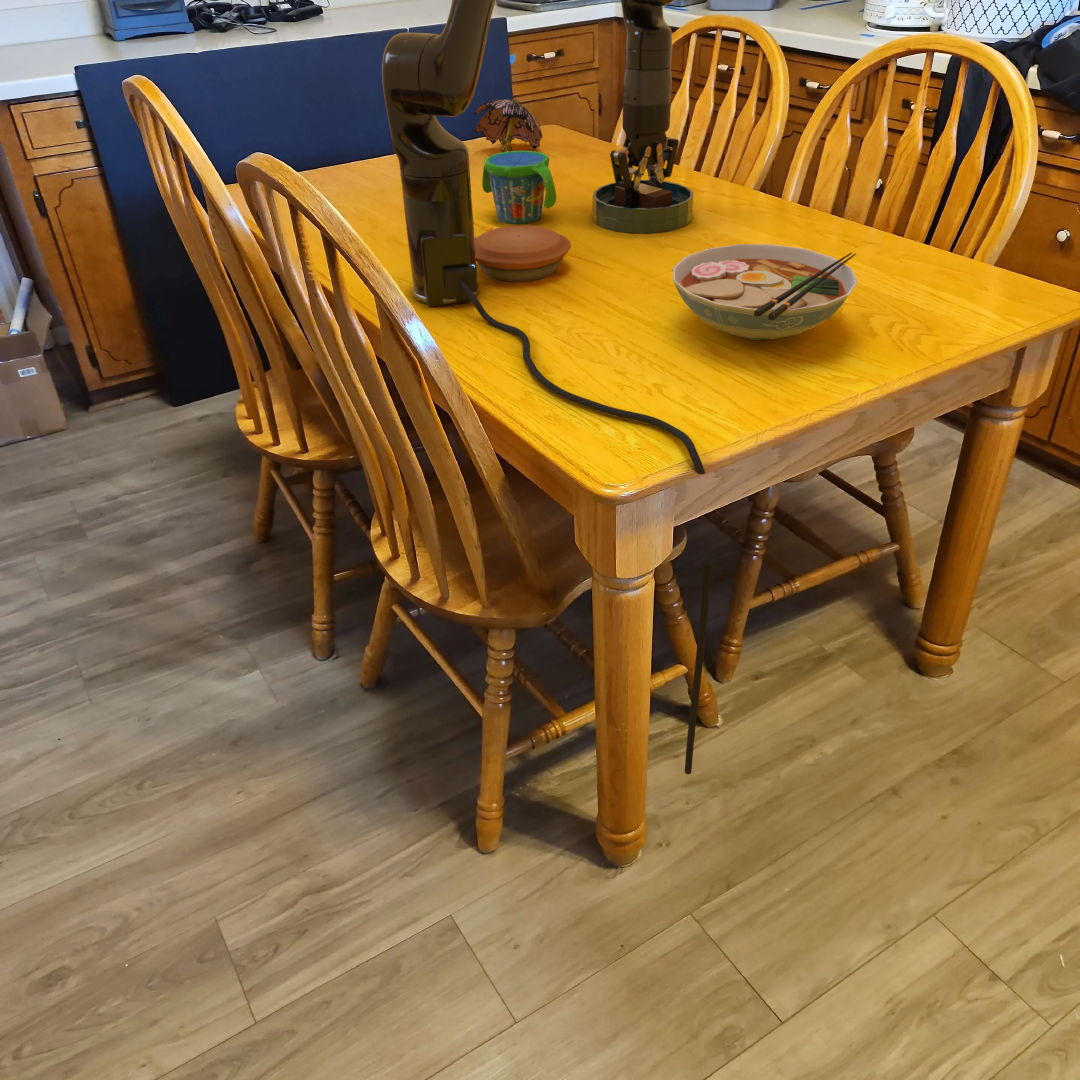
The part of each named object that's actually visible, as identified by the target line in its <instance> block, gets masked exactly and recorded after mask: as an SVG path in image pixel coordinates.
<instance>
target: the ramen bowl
mask: <svg viewBox="0 0 1080 1080" xmlns="http://www.w3.org/2000/svg"><path fill="white" fill-rule="evenodd" d="M856 255H857V253H853V252H849V253H848V254H846V255H845V256H843V257H841V258H839V259H837V258H836V257H833V256H830V255H827V254H824V253H821V252H818V251H814V250H811V249H808V248H802V247H795V246H788V245H781V244H780V245H779V244H767V243H766V244H765V243H763V244H762V243H760V244H759V243H757V244H752V243H750V244H749V243H747V244H746V243H737V244H729V245H725V246H717V247H709V248H706V249H703V250H700V251H697V252H694V253H692V254H689V255H685V256H684V257H683V258H682V259H680V261H679V262H678V263H676V264H675V265H674V266H673V267H672V279H673V280H672V281H673V284H674V285H675V288H676V290H677V293H678V294H679V296H680V297H681V299H682V300H683V303H684V304H685V305H686V306H687V307H688V309H689V310H690V311H691V312H692V313H693V314H694V315H695V316H696V317H698V318H699V319H700V320H701V321H702V322H704V323H705V324H706V325H708V326H709V327H711V328H714V329H716V330H718V331H721V332H723V333H726V334H729V335H732V336H736V337H739V338H742V339H745V340H750V341H770V340H777V339H781V338H786V337H791V336H797V335H800V334H803V333H805V332H807V331H809V330H811V329H814V328H816V327H818V326H820V325H823V324H824V323H826V322H827V320H829V319H831V317H832V316H834V315H835V314H836V313H837V312H838V310H839V309H840V308H841V307H842V306H843V305H844V303H845V301H846V300H847V299H848V297H849V296H850V295H851V294H852V292H853V290H854V289H855V287H856V285H857V284H858V279H857V277H856V275H855V272H854V270H853V268H852V267H850V266H849V265H847V264H846V263H847V262H849V261H850V260H851V259H852V258H853V257H856Z"/></svg>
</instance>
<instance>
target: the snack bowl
mask: <svg viewBox="0 0 1080 1080" xmlns="http://www.w3.org/2000/svg"><path fill="white" fill-rule="evenodd" d="M631 181H632V182H633V179H632V180H631ZM648 182H650V180H649V179H641V180H640V183H642V184H646V185H648ZM615 186H617V185H616V183H615V182H610V183H607V184H604V185H601V186H599V187H598V188H596V189H595V190H593V193H592V216H591V217H592V221H593V222H594V223H595V224H596V225H597V226H599V227H602V228H603V229H607V230H610V231H614V232H619V233H626V234H658V233H666V232H670V231H674V230H679V229H681V228H683V227H686V226H688V224H689V223H691V222H692V220H693V207H694V191H693V190H692V189H690V187H688V186H686V185H683V184H680V183H677V182H672V181H666V180H664V181H663V183H661V189H664V190H668V191H671V192H673V194H672V205H671V206H667V207H659V208H626V207H618V206H615Z"/></svg>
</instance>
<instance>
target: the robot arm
mask: <svg viewBox="0 0 1080 1080" xmlns="http://www.w3.org/2000/svg"><path fill="white" fill-rule="evenodd" d="M674 1H675V0H620V3H621V11H622V17H623V23H624V29H625V35H626V41H625V44H626V45H625V68H624V76H623V85H622V86H623V87H622V122H621V123H622V130H623V132H624V134H625V139H624V141H623V147H621V148H620V149H618V150H616V149H615V150H614V149H613V150H611V151H610V154H609V156H610V162H611V166H612V172H613V177H614V183H616V185H617V186H620V187H623V188H625V207H626V208H638V206H639V190H638V188H639V185H640V180H642V177H643V176H645V172H647V177H648V180H650V182H648V185H650V186H653V187H657V188H661V183H663V181H665V179H666V178H671V176H672V173H673V169H674V165H675V160H676V158H677V153H678V148H679V145H680V141H679V139H677V138H674V137H670V136H669V137H668V136H667V134H666V132H668V131H669V129H670V126H671V125H670V124H671V108H672V107H671V105H672V87H673V77H672V57H673V55H672V54H673V33H672V32H673V31H672V28H671V27H670V26H669V24H668V23H667V22H666V21H665V18H664V9H663V7H664V6H668V5H669V4H672V3H673V2H674ZM495 3H496V0H451V4H450V9H449V13H448V16H447V20H446V23H445V26H444V28H443V30H442V32H441V33H426V32H425V33H424V32H400V33H397V34H395V35H393V36H392V37H391V38H390V39H389V40H388V42H387V44H386V45H385V48H384V51H383V55H382V62H381V79H382V80H381V82H382V90H383V98H384V102H385V108H386V115H387V122H388V127H389V133H390V141H391V144H392V149H393V151H394V153H395V155H396V157H397V160H398V164H399V171H400V173H399V174H400V180H401V181H400V182H401V190H402V199H403V201H402V202H403V208H404V209H403V210H404V218H405V227H406V238H407V245H408V253H409V263H410V264H409V265H410V269H411V280H412V295H413V297H414V299H416V300H417V301H419V302H421V303H425V304H426V306H427V307H435V306H447V305H457V304H466V303H472V304H473V306H474V307H475V309H476V310H477V313H478V314H479V315H480V316H481V318H482V319H483V320H484V321H486V322H487V323H488V324H489V325H490V326H492V327H494V328H496V329H497V330H501V331H504V332H508V333H511V334H513V335H515V336H517V337H518V338H519V339H520V340H521V342H522V357H523V360H524V363H525V365H526V367H527V368H528V370H529V372H530V374H531V375H532V376H533V377H534V379H536V381H537V382H538V383H540V384H541V385H542V387H545V388H546V389H547V390H549V391H551V392H552V393H553V394H555V395H556V396H559V397H561V398H563V399H565V400H567V401H570V402H572V403H574V404H577V405H580V406H583V407H585V408H589V409H592V410H594V411H598V412H600V413H603V414H606V415H610V416H614V417H617V418H622V419H625V420H626V419H627V420H631V421H636V422H640V423H644V424H647V425H651V426H653V427H656V428H658V429H661V430H662V431H664V432H667V433H668V434H670V435H672V436H673V437H675V438H677V439H678V440H679V441H680V442H681V443H682V444H683V446H684V447H685V448H686V450H687V453H688V455H689V457H690V460H691V462H692V464H693V467H694V470H695V472H696V474H698V475H705V474H706V471H705V468H704V465H703V462H702V459H701V458H700V455H699V453H698V451H697V448H696V446H695V443H694V442H693V440H692V439H691V438H690V436H689V435H688V434H687V433H685V432H684V431H682V430H681V429H679V428H677V427H675V426H674V425H671V424H670V423H669V422H667V421H665V420H662V419H659V418H657V417H655V416H651V415H648V414H644V413H640V412H636V411H635V412H634V411H630V410H626V409H622V408H621V409H620V408H616V407H613V406H609V405H606V404H603V403H600V402H597V401H595V400H591V399H588V398H585V397H582V396H579V395H577V394H574V393H572V392H570V391H568V390H565V389H563V388H561V387H560V386H557V385H556V384H554V383H553V382H551V381H550V380H549V379H547V377H545V376H544V375H543V374H542V373H541V372H540V370H539V369H538V367H537V366H536V364H535V362H534V361H533V359H532V357H531V342H530V339H529V337H528V335H527V334H526V333H525V332H524V331H523V330H521V329H520V328H518V327H515V326H513V325H510V324H506V323H503V322H500V321H498V320H496V319H495V318H493V317H492V316H491V315H490V314H488V312H487V311H486V309H485V308H484V307H483V305H482V303H481V302H480V300H479V299H478V298H477V295H478V294H479V292H480V288H479V286H480V285H479V281H478V268H477V261H476V254H475V240H474V238H475V228H474V215H473V212H474V211H473V199H472V185H471V172H470V171H471V168H470V153H469V149H468V147H467V145H466V144H465V143H464V141H462V140H460V139H459V138H457V137H455V136H454V135H452V134H451V133H449V131H447V130H446V129H445V128H444V127H443V126H442V124H440V122H439V121H438V119H437V117H447V118H448V117H449V118H453V117H457V116H460V115H462V114H463V113H464V112H465V111H466V110H467V109H468V107H469V106H470V104H471V102H472V100H473V98H474V95H475V93H476V89H477V85H478V83H479V78H480V73H481V69H482V65H483V60H484V55H485V50H486V44H487V40H488V39H487V38H488V33H489V30H490V25H491V20H492V16H493V12H494V7H495ZM634 167H635V168H634ZM631 180H633V182H632V181H631ZM710 588H711V567H710V566H708V565H706V564H704V563H702V567H701V592H700V609H699V621H698V633H697V641H696V653H695V661H694V662H695V663H694V671H693V680H692V690H691V700H690V707H689V717H688V727H687V738H686V749H685V762H684V763H685V764H684V774H686V775H691V774H692V768H693V757H694V747H695V735H696V727H697V718H698V711H699V710H698V708H699V701H700V692H701V683H702V674H703V665H704V658H705V657H704V656H705V648H706V640H707V639H706V637H707V628H708V618H709V604H710Z"/></svg>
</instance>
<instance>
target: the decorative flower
mask: <svg viewBox="0 0 1080 1080" xmlns="http://www.w3.org/2000/svg"><path fill="white" fill-rule="evenodd" d="M487 110H488V111H487ZM483 111H486V112H485V113H484V114H483V116H482V117H480V120H479V121H478V123H477V125H476V127H475V128H474V133H475V134H478V133H479V132H481V134H483V138H486V139H485V140H486V141H490V143H491V144H492V145H494V144H496V142H497V141H499V143H500V145H502V146H501V147H500V148H499V149H500V150H499V151H500V152H499V153H501V152H506V151H507V152H508V151H513V147H512V146H510V145H511V144H512V142H513V140H515V139H517V140H521V141H520V142H524V143H525V144H526V143H529V145H530V147H531V149H532V150H533V151H535V150H536V149H537V148H539V147H540V146H541V139H543V138H544V137H543V133H542V130H541V127H540V124H539V122H538V120H537V118H536V117H535V116H534V115H533V113H532V112H531V111H529V110H528V109H527V108H526V107H524V105H522V103H521V102H520V100H518V99H515V98H512V99H507V98H494V99H490V100H488V101H486V102H484V103H483V104H481V105H479V106H478V107H477V108H476V110H475V112H474V113H473V116H474V115H477V114H479V113H482V112H483Z"/></svg>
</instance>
